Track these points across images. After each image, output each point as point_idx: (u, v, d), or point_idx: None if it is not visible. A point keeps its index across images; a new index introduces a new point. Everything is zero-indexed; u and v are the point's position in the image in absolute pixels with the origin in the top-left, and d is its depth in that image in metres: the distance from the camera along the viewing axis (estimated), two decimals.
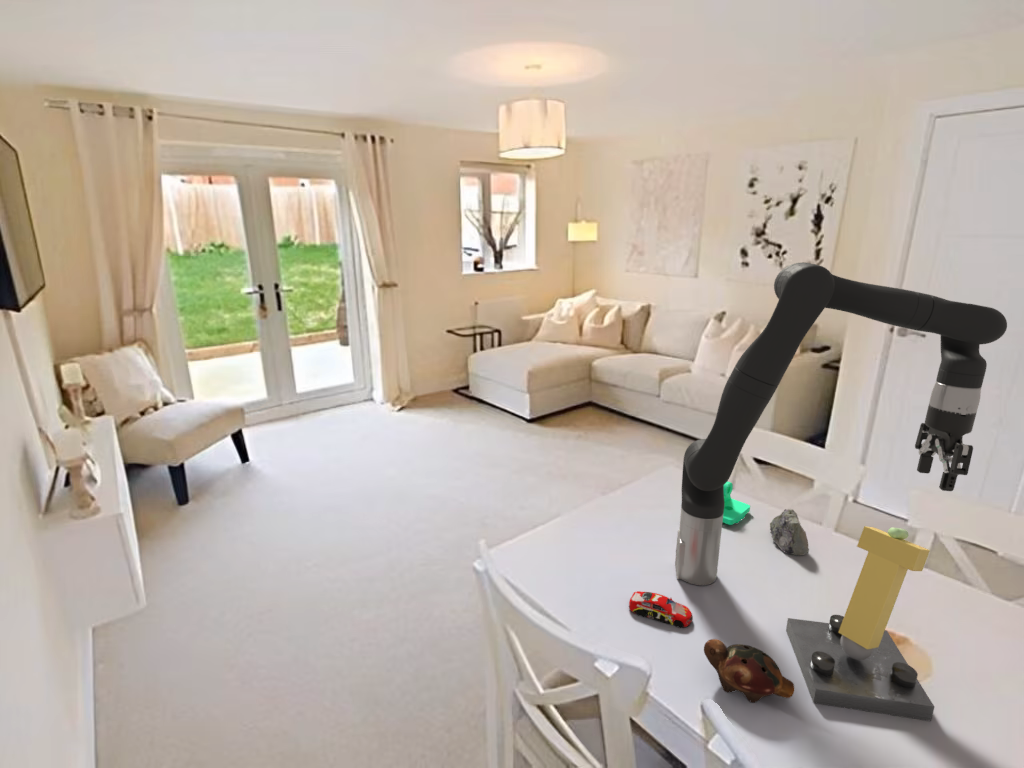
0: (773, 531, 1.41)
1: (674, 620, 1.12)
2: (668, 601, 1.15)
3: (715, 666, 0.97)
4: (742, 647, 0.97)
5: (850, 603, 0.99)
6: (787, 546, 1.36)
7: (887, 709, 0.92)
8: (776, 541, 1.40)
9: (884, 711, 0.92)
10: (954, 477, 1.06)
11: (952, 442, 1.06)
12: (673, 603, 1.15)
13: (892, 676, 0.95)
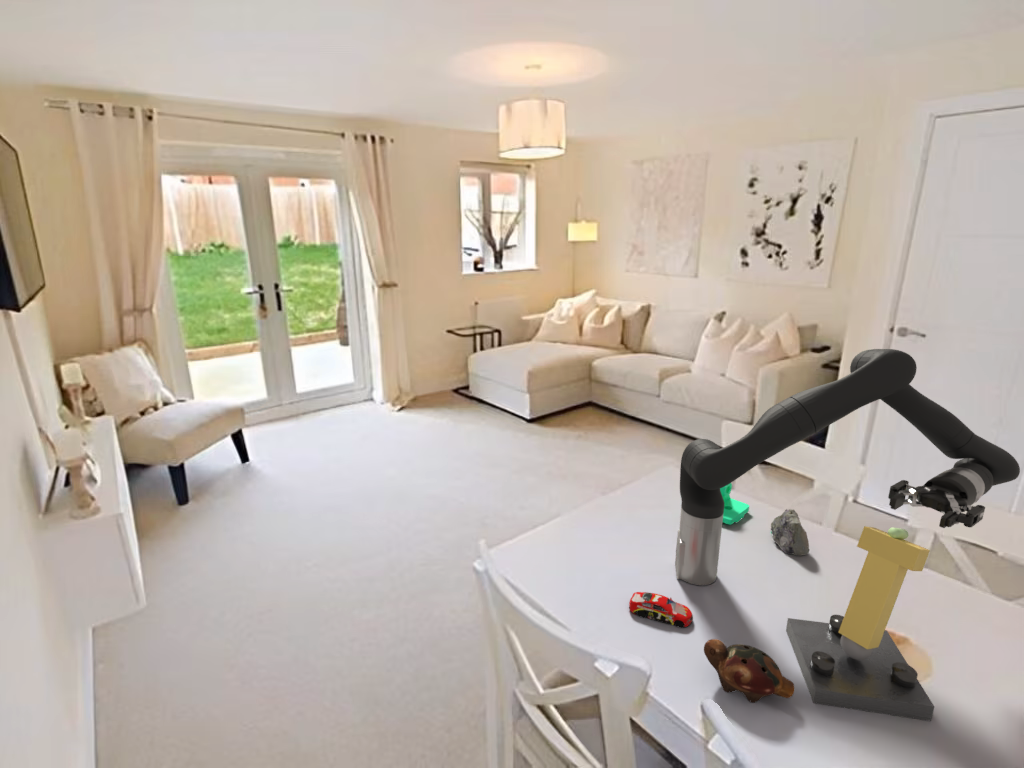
0: (774, 531, 1.41)
1: (675, 620, 1.12)
2: (668, 601, 1.15)
3: (715, 666, 0.97)
4: (742, 647, 0.97)
5: (850, 603, 0.99)
6: (788, 546, 1.36)
7: (887, 709, 0.92)
8: (777, 541, 1.40)
9: (884, 711, 0.92)
10: (956, 520, 0.98)
11: (966, 503, 1.02)
12: (673, 603, 1.15)
13: (892, 676, 0.95)
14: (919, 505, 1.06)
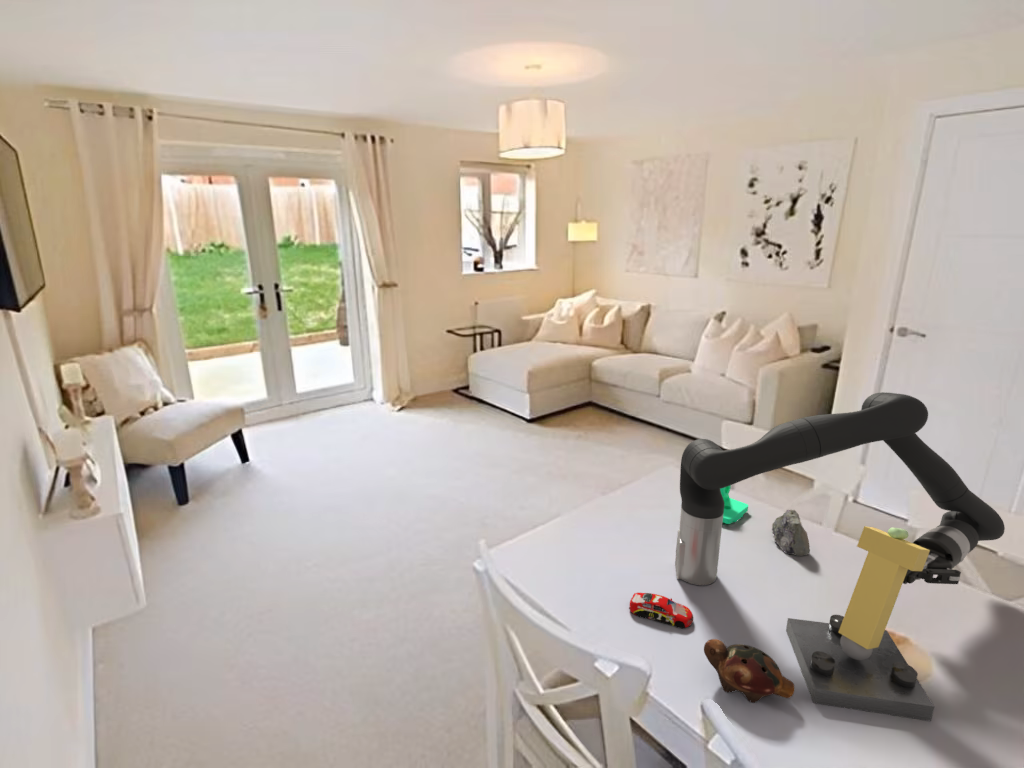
0: (775, 531, 1.41)
1: (675, 621, 1.12)
2: (668, 602, 1.15)
3: (715, 666, 0.97)
4: (742, 647, 0.97)
5: (850, 603, 0.99)
6: (788, 547, 1.36)
7: (887, 709, 0.92)
8: (777, 541, 1.40)
9: (884, 711, 0.92)
10: (917, 576, 1.05)
11: (950, 566, 1.06)
12: (673, 604, 1.15)
13: (892, 676, 0.95)
14: None
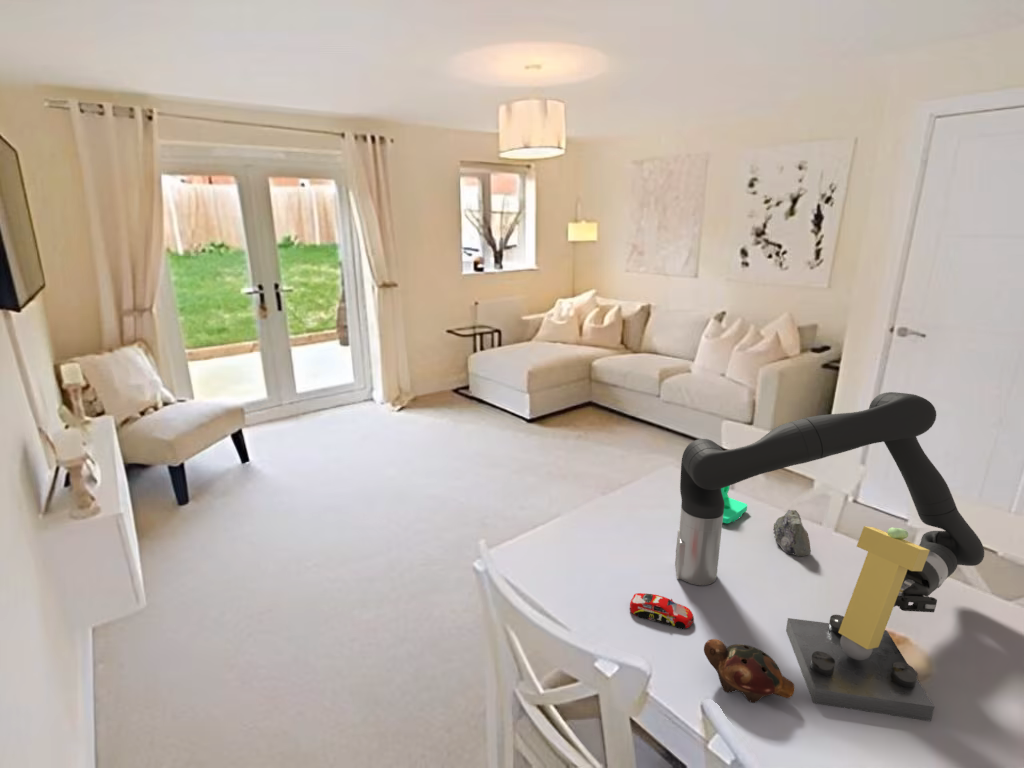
0: (776, 531, 1.41)
1: (676, 621, 1.12)
2: (669, 603, 1.15)
3: (715, 666, 0.97)
4: (742, 647, 0.97)
5: (850, 603, 0.99)
6: (789, 547, 1.36)
7: (887, 709, 0.92)
8: (778, 541, 1.40)
9: (884, 711, 0.92)
10: None
11: (926, 593, 1.02)
12: (674, 604, 1.15)
13: (892, 676, 0.95)
14: None
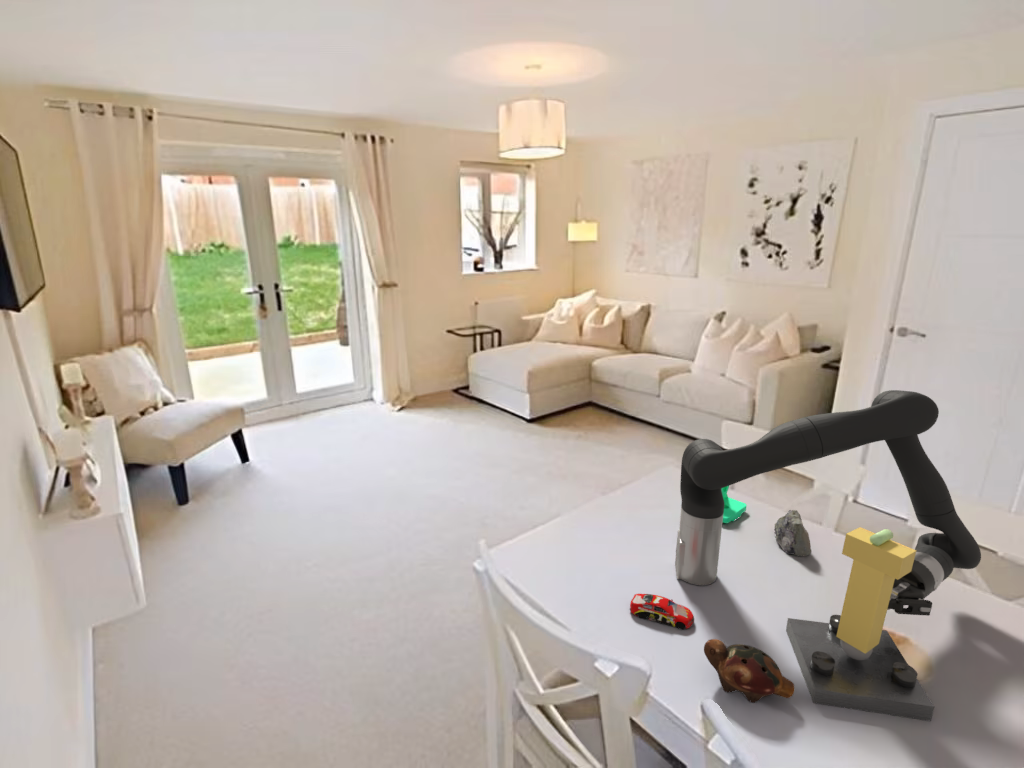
0: (776, 531, 1.41)
1: (676, 622, 1.12)
2: (669, 603, 1.15)
3: (715, 666, 0.97)
4: (742, 647, 0.97)
5: (843, 609, 0.98)
6: (789, 547, 1.36)
7: (887, 709, 0.92)
8: (779, 541, 1.40)
9: (884, 711, 0.92)
10: None
11: (921, 596, 1.01)
12: (674, 605, 1.15)
13: (892, 676, 0.95)
14: None
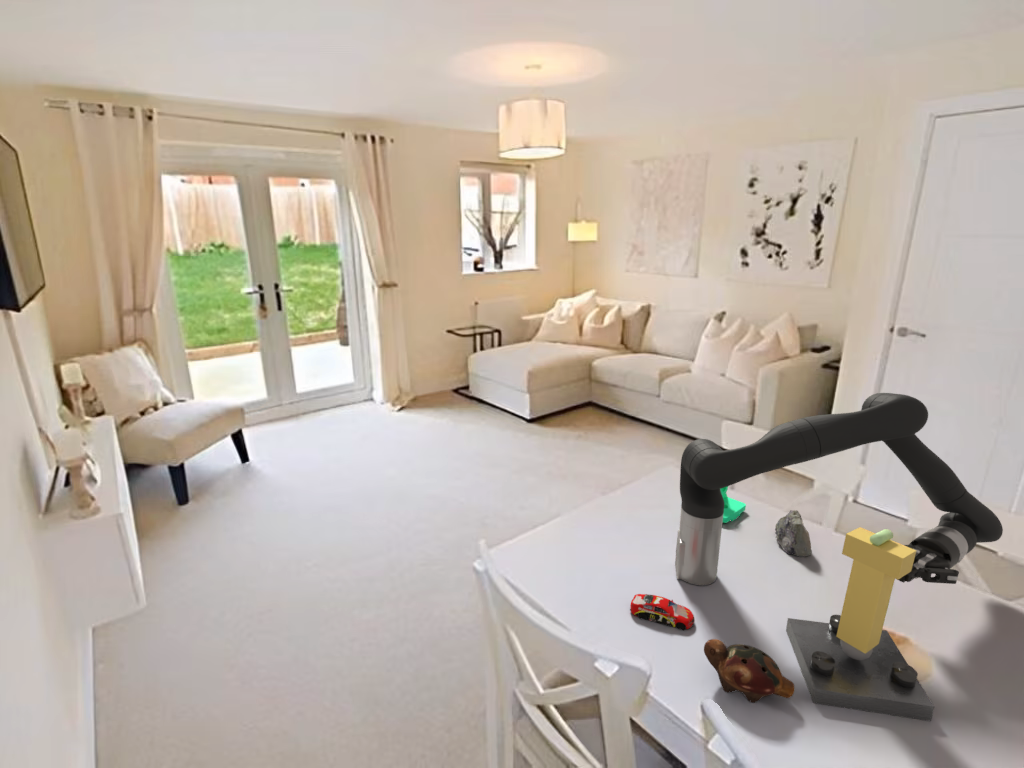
0: (777, 531, 1.41)
1: (676, 622, 1.12)
2: (669, 603, 1.14)
3: (715, 666, 0.97)
4: (742, 647, 0.97)
5: (843, 609, 0.98)
6: (790, 547, 1.36)
7: (887, 709, 0.92)
8: (779, 541, 1.40)
9: (884, 711, 0.92)
10: (915, 575, 1.05)
11: (948, 566, 1.06)
12: (675, 605, 1.15)
13: (892, 676, 0.95)
14: None
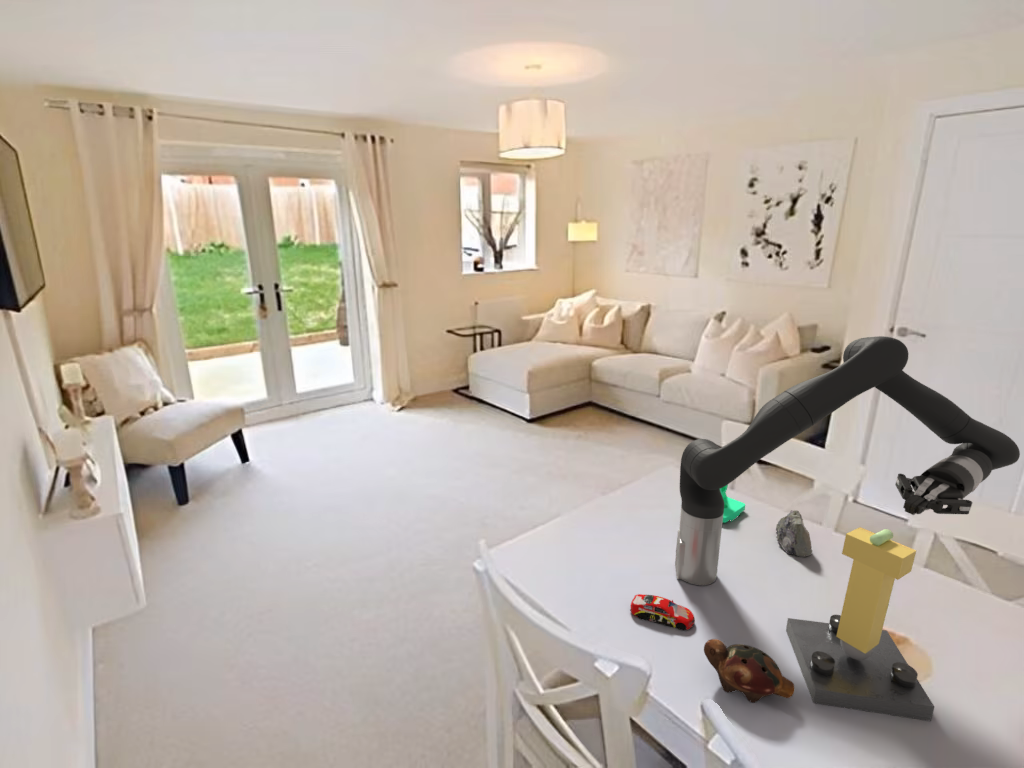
0: (777, 531, 1.41)
1: (677, 623, 1.12)
2: (670, 604, 1.14)
3: (715, 666, 0.97)
4: (742, 647, 0.97)
5: (843, 609, 0.98)
6: (790, 547, 1.36)
7: (887, 709, 0.92)
8: (780, 541, 1.40)
9: (884, 711, 0.92)
10: (926, 507, 1.01)
11: (961, 496, 1.02)
12: (675, 605, 1.15)
13: (892, 676, 0.95)
14: None
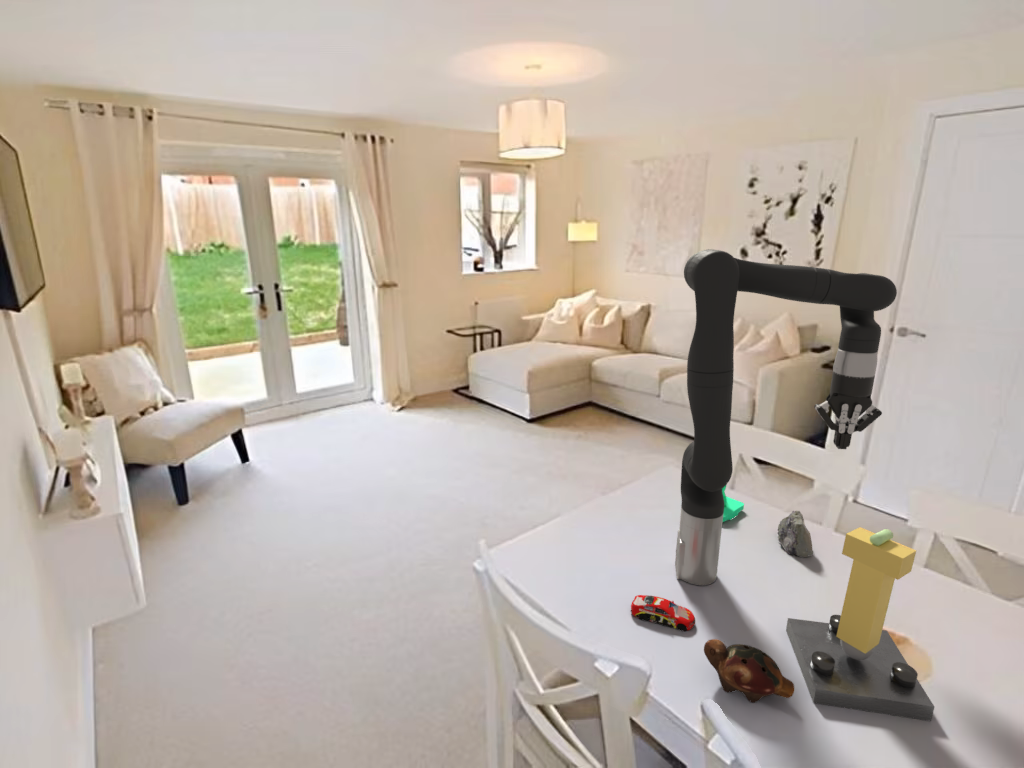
0: (779, 531, 1.41)
1: (677, 624, 1.11)
2: (670, 605, 1.14)
3: (715, 666, 0.97)
4: (742, 647, 0.97)
5: (843, 609, 0.98)
6: (791, 547, 1.36)
7: (887, 709, 0.92)
8: (781, 541, 1.40)
9: (884, 711, 0.92)
10: None
11: (870, 405, 1.14)
12: (675, 606, 1.14)
13: (892, 676, 0.95)
14: None
